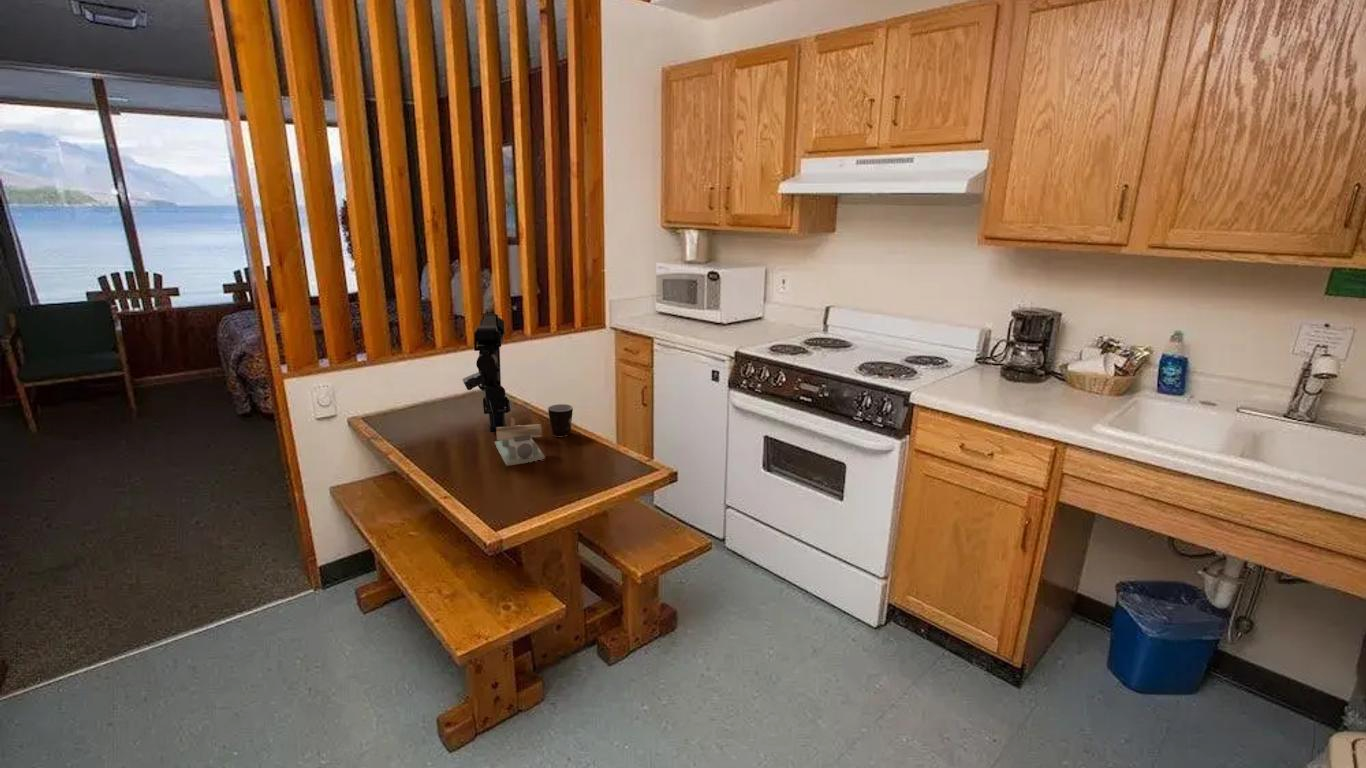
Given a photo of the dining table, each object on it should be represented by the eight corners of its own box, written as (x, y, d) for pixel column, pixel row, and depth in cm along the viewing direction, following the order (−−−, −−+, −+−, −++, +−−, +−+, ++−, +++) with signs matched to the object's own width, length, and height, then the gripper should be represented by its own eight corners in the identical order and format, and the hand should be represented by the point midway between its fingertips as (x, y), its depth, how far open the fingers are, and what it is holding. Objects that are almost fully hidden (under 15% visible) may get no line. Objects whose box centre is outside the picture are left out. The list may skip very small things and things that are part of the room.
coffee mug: (560, 428, 223) (559, 402, 220) (578, 433, 219) (577, 406, 216) (537, 438, 213) (536, 411, 211) (556, 443, 209) (555, 415, 206)
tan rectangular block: (497, 435, 197) (496, 427, 196) (541, 432, 201) (540, 424, 200) (496, 440, 193) (496, 431, 193) (541, 436, 197) (541, 427, 196)
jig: (495, 444, 206) (493, 419, 204) (530, 439, 212) (529, 414, 209) (507, 467, 188) (505, 439, 186) (545, 460, 194) (544, 433, 191)
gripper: (459, 361, 204) (463, 405, 209) (467, 374, 188) (471, 421, 192) (493, 358, 209) (496, 401, 213) (504, 370, 193) (507, 417, 197)
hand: (492, 410), depth 204 cm, fingers open, 9 cm apart
